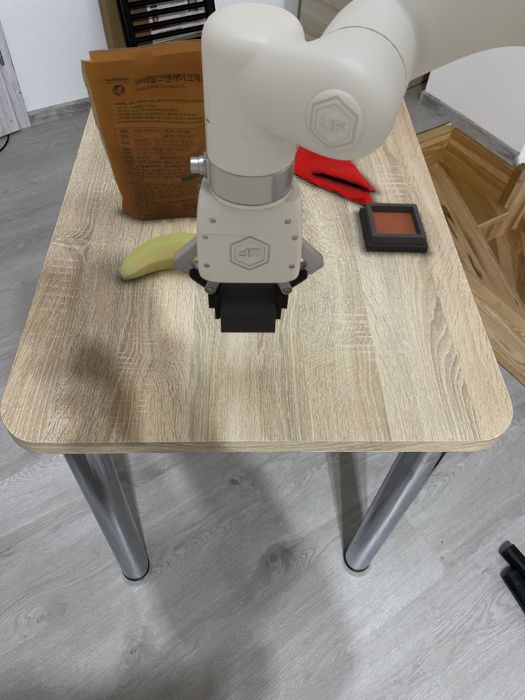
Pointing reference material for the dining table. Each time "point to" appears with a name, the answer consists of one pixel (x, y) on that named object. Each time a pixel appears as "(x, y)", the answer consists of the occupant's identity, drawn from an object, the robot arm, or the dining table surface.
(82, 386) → the dining table surface
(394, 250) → the base pad
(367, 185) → the cloth
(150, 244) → the banana
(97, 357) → the dining table surface
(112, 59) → the pancake mix bag
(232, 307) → the black pad
